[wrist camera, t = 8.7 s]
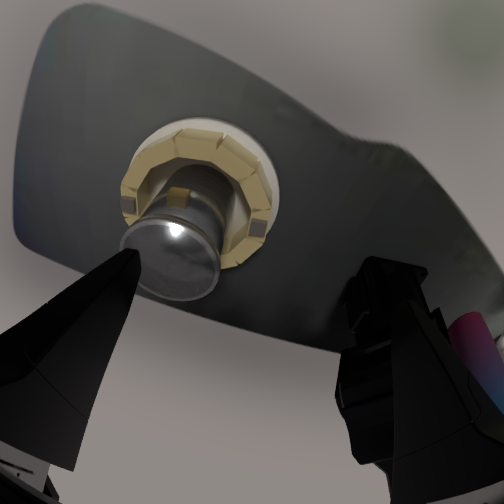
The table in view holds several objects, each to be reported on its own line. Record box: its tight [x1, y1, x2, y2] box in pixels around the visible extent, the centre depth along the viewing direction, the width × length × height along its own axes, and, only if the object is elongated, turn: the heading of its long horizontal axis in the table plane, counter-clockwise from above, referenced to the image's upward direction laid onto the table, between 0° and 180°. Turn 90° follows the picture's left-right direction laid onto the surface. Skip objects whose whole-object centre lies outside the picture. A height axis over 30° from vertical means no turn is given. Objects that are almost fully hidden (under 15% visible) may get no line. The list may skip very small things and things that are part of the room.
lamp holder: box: [120, 116, 279, 269], centre depth 19 cm, size 11×11×4 cm
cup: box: [448, 312, 504, 415], centre depth 22 cm, size 7×7×15 cm
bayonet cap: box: [120, 164, 236, 301], centre depth 17 cm, size 6×5×7 cm
